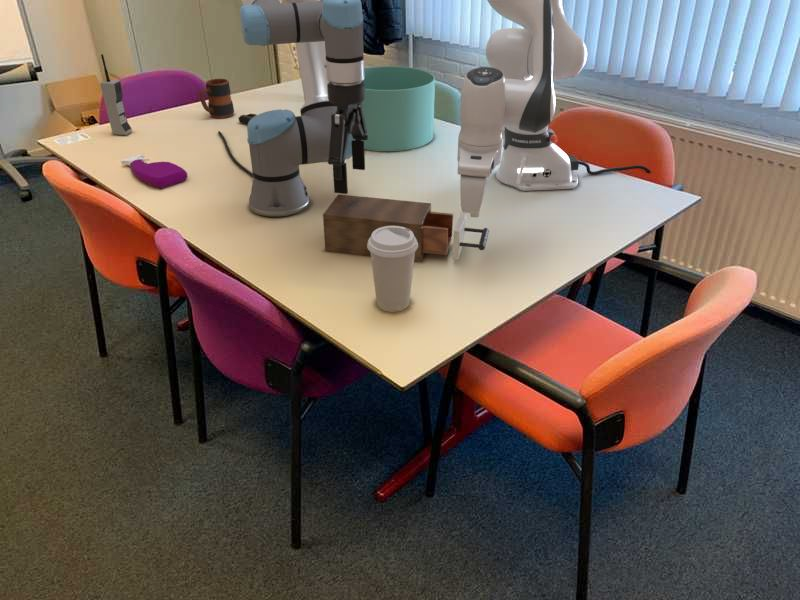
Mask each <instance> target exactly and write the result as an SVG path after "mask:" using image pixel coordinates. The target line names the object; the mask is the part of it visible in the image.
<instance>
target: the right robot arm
mask: <svg viewBox="0 0 800 600" xmlns="http://www.w3.org/2000/svg"><path fill="white" fill-rule="evenodd" d="M487 2H488V4H489V6H490V7H491V8H492V9H493V10H494V11H495V12H496V13H497V14H499V15H500V16H501V17H503V18H504V19H507V20H508V21H511V22H512V23H515V24H517V25H518V26H521V27H522V28H521V27H508V28H501V29H497V30H495V31H494V32H493V33H492V34H491V35H490V37H489V39H488V40H487V42H486V45H485V56H486V61H487V64H488V65H489V66H480V67H476V68H473V69H471V70H468V71H467V73H466V74H465V77H464V80H463V84H462V90H461V94H460V102H459V120H460V130H459V133H458V139H457V156H456V157H457V158H456V160H457V175H460V178H459V179H460V181H459V183H460V184H459V185H460V188H459V189H460V191H459V192H460V207H461V212H465V213H466V214H469V216H470V218H476V219H477V218H479V216H480V212H481V208H482V205H483V202H484V198H485V194H486V192H487V189H488V188H487V187H488V185H489V181H490V177H491V174H492V173H493V171H494V169H496V167H497V166H498V165H499V167H498V169H497V172H496V175H495V177H496V180H498V181H499V182H501V183H502V184H504V185H507V186H511V187H515V189H517V190H519V191H522V192H529V191H530V192H531V191H550V190H551V191H552V190H572V189H576V188H577V186H578V184H579V178H578V175H577V173H576V171H578V170H579V168H580V167H579V166H584V167H585V168H586V172H587V174H589V175H591V176H595V175H601V174H603V173H611V172H619V171H620V172H621V171H629V170H635V169H640V170H643V171H645V172H646V173H648V174H649V173H650V174H651V173H652V171H651V169H649V167H647V166H645V165H641V164H634V165H627V166H618V167H610V168H603V169H599V170H596V171H592V170H591V167H590V165H589V164H588V163H587V162H585V161H583V160H582V161H581V160H579V159H578V158H577V157H576V156H575V155H574V154H567V153H566V152H565V151H564V150H563V149H561V148H560V147H559V146H558V145H557V143H558V141H559V138H558V135H557V134H555V131H554V130H553V129H552V127H551V128H549V125H550V124H552V122H553V119H554V117H555V116H554V115H555V113H556V92H555V87H554V80H565V79H566V80H567V79H574V78H576V77H577V76H578V75H580V73H581V72H582V70H583V69H584V67H585V65H586V63H587V57H588V51H587V45H586V43H585V41H584V39H583V38H582V37H581V36H580V35H578V34H577V32H576V31H575V30H573V28H572V26H571V25H570V23H569V21H568V19H567V17H566V15H565V11H564V7H563V0H487ZM502 128H504V131H503V133H502ZM502 148H503V149H502ZM502 151H503V152H502Z"/></svg>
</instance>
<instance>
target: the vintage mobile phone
mask: <svg viewBox="0 0 800 600" xmlns="http://www.w3.org/2000/svg"><path fill="white" fill-rule="evenodd" d="M100 57H101V61H102V66H103V69H104V74H105V79H106V80H103V81H102V82H100V83H99V86H100V89H101V93H102V94H101V95H102V98H103V101H104V106H105V109H106V113H107V117H108V121H109V125H110V129H111V133H112V134H113V135H116V136H117V135H118V136H127V135H129V134H130V133H132V132H133V128H132V126H131V125H130V124H129V122H128V117H127V115H126V109H125V106H124V105H125V104H124V101H123V97H124V96H123V88H122V81H121V80H117V79H110V76H109V72H108V68H107V65H106V61H105V57H104V54H100Z"/></svg>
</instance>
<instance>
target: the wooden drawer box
mask: <svg viewBox="0 0 800 600" xmlns="http://www.w3.org/2000/svg"><path fill="white" fill-rule="evenodd" d="M429 211H430V212H432V203H431V202H421V201H414V200H413V201H411V200H400V199H390V198H381V197H369V196H360V195H350V194H349V195H348V194H341V193H337V195H336V196H335V198H334V199H333V201H332V202H330V204H329V206H328V207H327V209H326V210H325V211H324V213H322V221H323V222H322V223H323V234H324V235H323V236H324V249H325V250H324V251H325V252H332V253H340V254H341V253H342V254H350V255H358V256H368V257H371V254H370V251H369V250H368V248H367V243H368V240H369V238H370V237H371V234H372V233H373V231H375V230H376V229H378V228H381V227H385V226H401V227H405V228H407V229H409V230H411V231H412V232H413V234H414V236H415V238H416V240H417V242H418V248H417V250H416V251H415V257H414V262H420V263H421V262H422V260H423V257H424V256H425V253H422V226H423V224H424V222H425V220H426V217H427V215H428V213H429Z"/></svg>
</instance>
